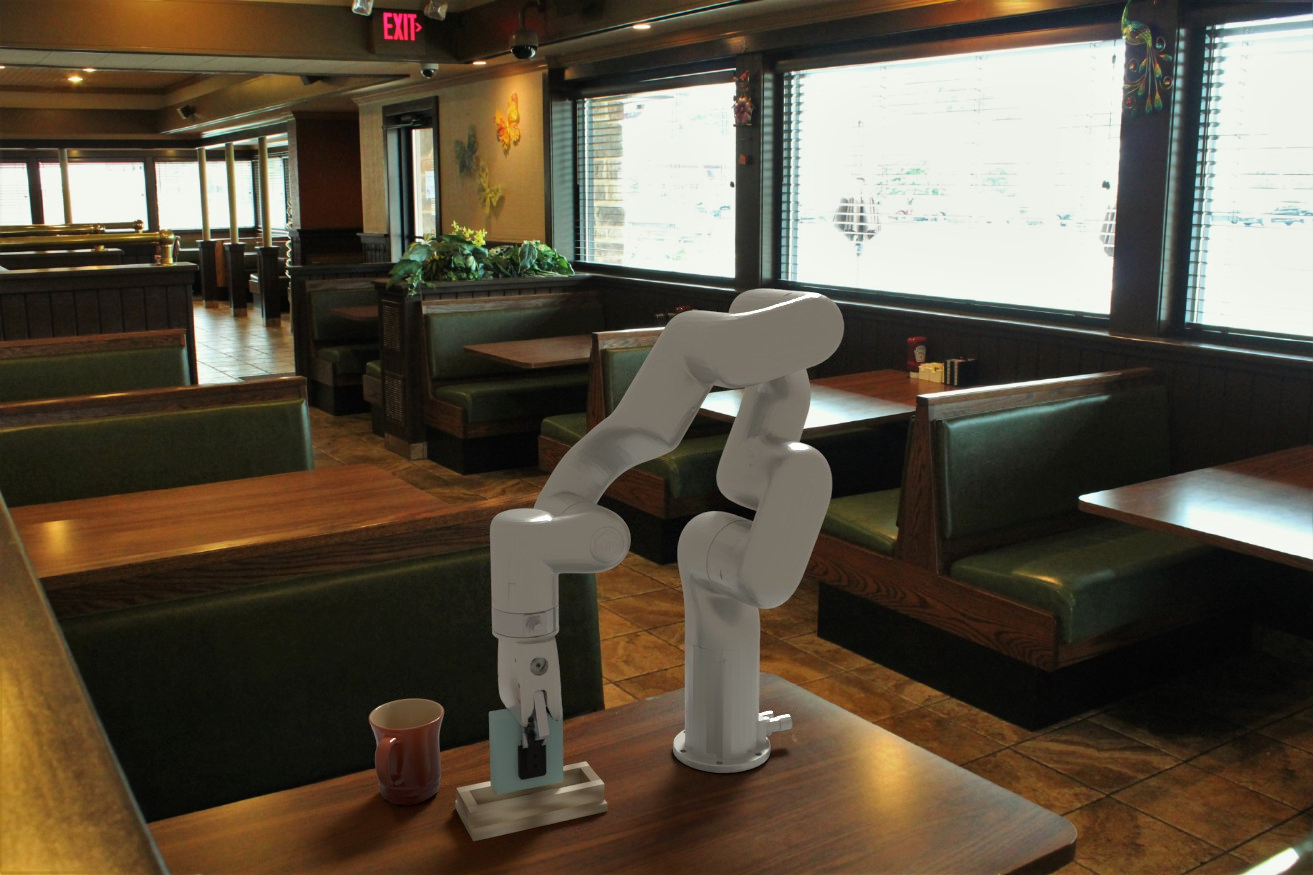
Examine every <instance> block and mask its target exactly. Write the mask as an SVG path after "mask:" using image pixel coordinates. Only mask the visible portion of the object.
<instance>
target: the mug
mask: <svg viewBox="0 0 1313 875" xmlns="http://www.w3.org/2000/svg"><path fill="white" fill-rule="evenodd" d="M444 715H445V709H444V707H443V706H442V705H441V704H440V703H438V702H436V701H434V700H431V699H427V698H425V699H424V698H405V699H404V698H403V699H397V700H393V701H389V702H386V703H383V704H381V705H379V706H377V707H376V708H374V709H373V710H371V712H370V713H369V715H368V721H369V725H370V726H371V730H372V731H373V735H374V738H375V740H376V741H375V742H376V750H375V753H374V765H375V767H374V768H375V772H376V778H377V783H378V785H379V790H380V795H381V796H382V797H383V799H385V800H386V801H387V802H389V803H391V804H395V805H402V806H409V805H410V806H411V805H416V804H417V805H418V804H420V803H422V802H423V803H424V802H425V801H427V800H429V799H430V798H432V797H433V796H434V795H436V794H437V793H438V791H439V790H440V786H441V785H440V784H441V780H442V778H441V776H442V767H441V766H442V765H441V762H442V761H441V752H440V730H441V726H442V722H443V718H444Z"/></svg>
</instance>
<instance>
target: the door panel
mask: <svg viewBox="0 0 1313 875" xmlns="http://www.w3.org/2000/svg"><path fill="white" fill-rule="evenodd" d="M546 713H547V712H546ZM529 718H534V717H533V716H531V717H528V719H529ZM563 718H564V713H563V708H562V717H561V719H560V721H554V720H553V719H552V718H551V717H550V716H549V714H548V713H547V720H548V727H549V733H550V737H549V738H547V743H546V774H545V775H544V776H540V777H535V778H530V779H525V780H521V779H520V778H519V776H518V746H520V745H521V739H520V724H519V723H518V722H517V721H516V719H515V718H514V717H513V716H512V714H511V713H510V712H509V710H508V709H507V708H504V709H503V708H502V709H498V710H497V709H496V710H492V711H491V710H490V711H489V712H488V724H489V726H488V727H489V728H488V729H489V731H488V732H489V734H488V736H489V738H488V739H489V770H490V771H489V774H490V775H489V776H490V777H489V778H490V780H489V781H490V782H491V786H492V788H493V790H494V791H495V793H496V794H497V795H499V794H504V793H509V792H514V791H519V790H524V789H529V788H534V787H539V786H544V785H549V784H554V783H559V782H563V766H564V726H563V725H564V721H563V720H564V719H563ZM534 729H535V726H533V727H527V731H528V733H529V731H530V730H534Z"/></svg>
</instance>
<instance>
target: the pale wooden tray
mask: <svg viewBox="0 0 1313 875" xmlns="http://www.w3.org/2000/svg"><path fill="white" fill-rule="evenodd" d="M605 794H606V793H605V783H604V781H603V780H602V779H601V778H600V777H599V775H598V774H597V773H596V772H595V771H594V769H593V768H592V767H591V766H590V764H589V763H588V762H587V761H581V762H577V763H571V764H567V765H563V782H559V783H554V784H549V785H544V786H539V787H534V788H529V789H524V790H519V791H514V792H509V793H504V794H499V795H497V794H496V793H495V791H494V790H493V788H492V786H491V782H490V780H489V781H484V782H479V783H474V784H469V785H465V786H459V787H456V800H454V801H455V802H454V803H455V804H454V805H455V809H456V811H457V814H458V815H459V818H460V819H461V821H462V823H463V825H464V827H465V828H466V830H467V832H468V834H469V836H470V838H471V840H472V841H473V842H477V841H481V840H485V839H490V838H494V837H499V836H503V835H508V834H514V833H517V832H521V831H525V830H531V829H534V828H539V827H543V826H548V825H552V824H557V823H562V822H565V821H569V820H574V819H579V818H583V817H587V816H592V815H597V814H601V813H606V812H608V810H609V809H608V807H609V806H608V805H609V804H608V802H607V801H606V798H605V796H606V795H605Z"/></svg>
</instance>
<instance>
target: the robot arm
mask: <svg viewBox="0 0 1313 875" xmlns="http://www.w3.org/2000/svg"><path fill="white" fill-rule="evenodd" d="M840 309H841V308H839V306H838V305H837V304H836V302H835V301H833V300H832V299H831V298H829V297H828V296H826V295H823V294H821V293H818V292H811V291H802V290H799V291H798V290H788V289H777V288H776V289H775V288H755V289H749V290H746V291H743V292H741V293H739V295H737V296H736V297H735V298H734V299H733V301H732V303H731V304H730V307H729V310H728V312H719V311H718V312H717V311H710V310H687V311H683V312H681V313H677V314H676V315H675V316H674V317H672V318H671V319H670V320H669V321H668V322H667V324H666V325H665V327H664V328H663V330H662V331H661V333H660V334H659V337H658V338H657V340H656V342H655V344H653V347H652V348H651V350H650V352H649V353H648V355H647V356H646V358H645V360H644V361H643V363H642V365H641V367H640V368H639V370H638V371H637V373H636V375H635V376H634V378H633V380H632V381H631V384H630V385H629V386H628V389H627V390H626V391H625V393H624V395H623V396H622V399H621V400H620V402H619V403H618V405H617V406H616V408H615V409H614V411H613V412H611V414H610V415H608V417H606V418H605V419H603V420H602V421H600V422H599V423H598V424H596V425H595V426H594V427H593V428H592V429H591V430H590V431H588V433H586V434H585V435H584V436H583V437H582V438H580V439H579V441H577V442H576V443H575V444H574V445H572V447H571V448H570V449H569V450H568V451H567V452H566V453H565V454H564V456H563V457H562V458H561V459H560V461H559V462H558V463H557V465H556V467H555V468H554V470H553V471H552V472H551V474H550V476H549V478H548V479H547V481H546V482H545V484H544V486H543V488H542V489H541V491H540V493H539V494H538V496H537V499H536V501H535V503H534V505H533V507H532V508H512V509H508V510H505V511H502V512H499V513H498V514H496V515H495V516H494V517H493V518H492V520H491V523H490V526H489V539H490V540H489V541H490V543H489V544H490V545H489V546H490V549H489V550H490V580H491V583H490V584H491V624H492V625H491V629H492V630H491V631H492V632H491V634H492V635H493V636H494V637H495V638H496V639H497V641H498V643H497V644H498V645H497V646H498V647H497V683H498V693H499V697H500V699H501V702H502V704H503V705H504V707H505V709H508V710H509V712H510V713H511V714H512V716H513V717H514V718H515V719H516V721H517V722H518V723H519V724H520V739H521V745H520V746H518V776H519V778H520V779H521V780H525V779H530V778H535V777H540V776H544V775H545V774H546V743H547V738H549V737H550V733H549V727H548V720H547V713H548V714H549V716H550V717H551V718H552V719H553V720H554V721H560V719H561V717H562V709H563V705H562V689H561V688H562V686H561V685H562V684H561V672H560V664H559V662H560V661H559V653H558V646H557V642H556V641H557V640H556V636H557V634H558V633H559V631H560V624H559V622H560V621H559V620H560V619H559V618H560V617H559V616H560V615H559V614H560V613H559V612H560V610H559V609H560V608H559V606H560V604H559V599H560V598H559V575H560V574H595V573H596V574H597V573H603V572H606V571H609V570H612V569H614V568H615V567H617V566H618V565H619V564H621V563H622V562H623V561H624V559H625V558H626V556H627V555H628V553H629V550H630V547H631V541H632V540H631V537H632V536H631V533H630V529H629V527H628V525H627V523H626V522H625V521H624V519H623V518H622V517H621V516H620V515H619V514H617V512H614V511H612V510H610V509H609V508H607V507H604V506H602V505H599V504H598V502H599V501H600V498H602V496H603V494H604V493H605V492H606V490H607V489H608V488H609V486H610V485H612V483H613V482H614V481H615V480H616V479H618V477H620V476H621V475H622V474H623V473H625V472H626V471H628V470H630V469H632V468H634V467H635V466H638V465H640V464H642V463H645V462H648V461H651V460H655V459H657V458H660V457H662V456H664V455H666V454H668V453H671V452H672V451H674V450H675V449H676V448H677V447H679V445H680V443H681V441H682V440H683V438H684V436H685V435H686V432H687V431H688V430H689V427H690V426H691V424H692V423H693V421H694V419H695V417H696V416H697V414H698V412H699V410H700V408H701V407H702V405H703V403H704V402H705V400H706V399H707V396H708V395H709V393H710V392H711V390H712V389H713V387H714V386H717V387H721V388H726V389H744V390H743V394H742V397H741V402H740V405H739V408H738V411H737V414H736V417H735V418H734V422H733V424H732V427H731V430H730V432H729V435H728V437H727V440H726V443H725V445H724V448H723V451H722V454H721V457H720V459H719V463H718V466H717V470H716V477H715V478H716V484H717V487H718V490H719V491H720V493H721V494H722V495H723V496H724V497H725V498H726V499H728V500H729V501H731V502H733V503H735V504H737V505H739V506H741V507H744V508H747V509H750V510H753V511H755V512H756V513H755V515H754V518H753V520H751V519H747V518H745V517H743V516H738V515H737V514H733V513H730V512H726V511H718V510H717V511H715V510H714V511H713V510H712V511H707V512H702V513H700V514H698V515H696V516H694V517H693V518H692V519H690V521H688V522H687V523H686V525H685V526H684V528H683V530H682V531H681V533H680V536H679V540H678V543H677V565H678V570H679V577H680V581H681V587H682V588H681V589H682V592H683V604H684V605H683V606H684V729H683V730H681V731H680V732H679V733H678V734H677V735H675V737H674V739H673V743H672V750H673V751H672V752H673V754H674V757H676V759H677V760H679V761H680V762H681V763H682V764H683V765H686V766H688V767H690V768H693V769H696V770H698V771H703V772H707V773H708V772H709V773H718V774H730V773H739V772H745V771H747V770H751V769H754V768H756V767H759V766H761V765H763V764H764V763H765V762H766V761H767V760H768V759H769V757H770V755H771V746H772V745H771V742H770V740H769V738H768V737H769V736H771V735H772V734H773V733H774V732H782V731H787V730H790V729H792V728H793V719H792V717H791V715H790V714H787V713H786V714H782V715H777V716H775V714H774V713H773V712H774V711H772V710H766V711H762V712H760V658H761V657H760V655H761V654H760V653H761V652H760V648H761V646H760V643H761V642H760V641H761V618H760V612H759V610H760V609H762V610H763V609H764V610H770V609H775V608H777V607H779V606H781V605H783V604H785V602H787V601H788V600H789V599H790V598H791V597H792V596H793V594H794V593H795V592H796V590H797V588H798V586H799V585H800V583H801V581H802V579H803V577H804V574H805V571H806V569H807V567H808V564H809V561H810V558H811V555H812V552H813V551H814V547H815V544H816V543H817V540H818V537H819V533H820V531H821V528H822V525H823V523H824V520H825V517H826V514H827V512H828V509H829V505H830V502H831V499H832V491H833V475H832V471H831V467H830V465H829V463H828V461H827V459H826V458H825V456H824V455H823V453H821V452H820V450H818V449H816V448H815V447H813V446H811V445H809V444H807V443H803V442H800V441H801V439H802V434H803V431H804V427H805V425H806V421H807V419H808V416H809V411H810V407H811V398H812V397H811V396H812V395H811V394H812V392H811V385H810V379H809V375H808V372H807V369H809V368H812V367H815V366H818V365H819V364H822V363H823V362H825V361H826V360H828V359H829V358H830V357H831V356H832V355H833V354H834V353H835V352H836V351H837V349H838V348H839V347H840V345H841V343H842V340H843V337H844V332H845V322H844V318H843V314H842V311H841V310H840ZM546 712H547V713H546ZM531 716H533V717H534V718H529V719H528V717H531ZM533 726H535V729H534V730H530V731H529V733H528V731H527V727H533Z"/></svg>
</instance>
